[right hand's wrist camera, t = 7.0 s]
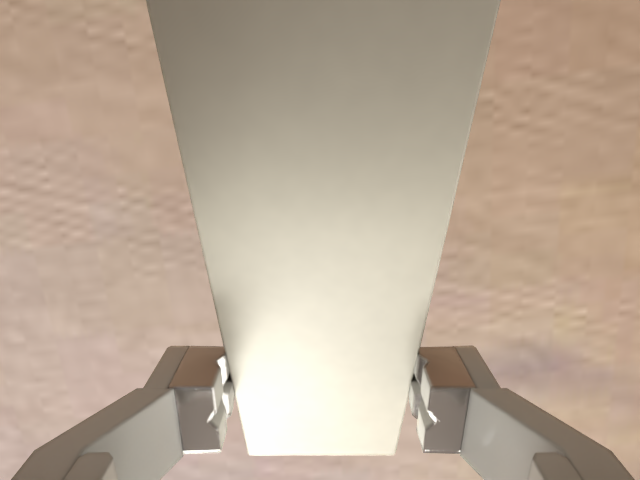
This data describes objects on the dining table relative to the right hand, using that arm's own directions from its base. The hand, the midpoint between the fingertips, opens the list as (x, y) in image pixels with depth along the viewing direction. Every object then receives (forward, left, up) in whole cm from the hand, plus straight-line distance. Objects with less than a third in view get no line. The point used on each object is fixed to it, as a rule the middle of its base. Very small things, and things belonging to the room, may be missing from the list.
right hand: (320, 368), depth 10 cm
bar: (+2, +9, -5) cm, 11 cm away
